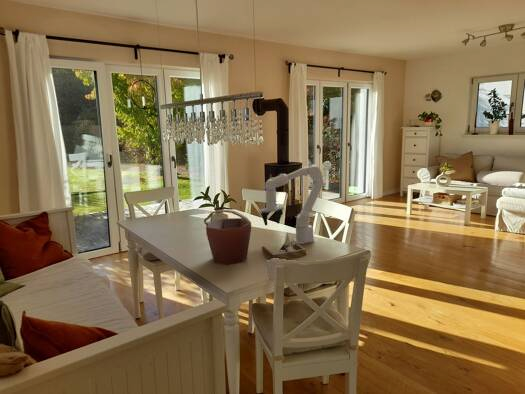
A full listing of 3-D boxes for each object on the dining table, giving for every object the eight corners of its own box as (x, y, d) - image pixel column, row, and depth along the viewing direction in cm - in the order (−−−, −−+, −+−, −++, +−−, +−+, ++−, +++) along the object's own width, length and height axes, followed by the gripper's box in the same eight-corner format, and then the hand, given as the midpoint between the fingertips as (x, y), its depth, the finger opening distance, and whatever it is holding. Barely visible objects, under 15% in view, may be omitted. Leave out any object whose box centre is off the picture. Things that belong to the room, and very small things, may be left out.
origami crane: (273, 240, 198) (283, 230, 191) (290, 245, 202) (300, 235, 195) (275, 258, 191) (285, 248, 184) (292, 262, 195) (303, 253, 188)
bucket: (197, 261, 188) (193, 213, 183) (225, 248, 206) (222, 204, 201) (236, 270, 174) (233, 218, 169) (262, 255, 192) (260, 208, 187)
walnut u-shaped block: (292, 246, 204) (292, 241, 204) (305, 254, 191) (305, 249, 190) (262, 251, 198) (261, 246, 197) (273, 260, 184) (273, 255, 183)
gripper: (279, 198, 216) (280, 220, 219) (256, 201, 210) (257, 224, 213) (285, 200, 210) (285, 223, 212) (261, 203, 204) (262, 227, 207)
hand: (272, 224), depth 212 cm, fingers open, 7 cm apart
